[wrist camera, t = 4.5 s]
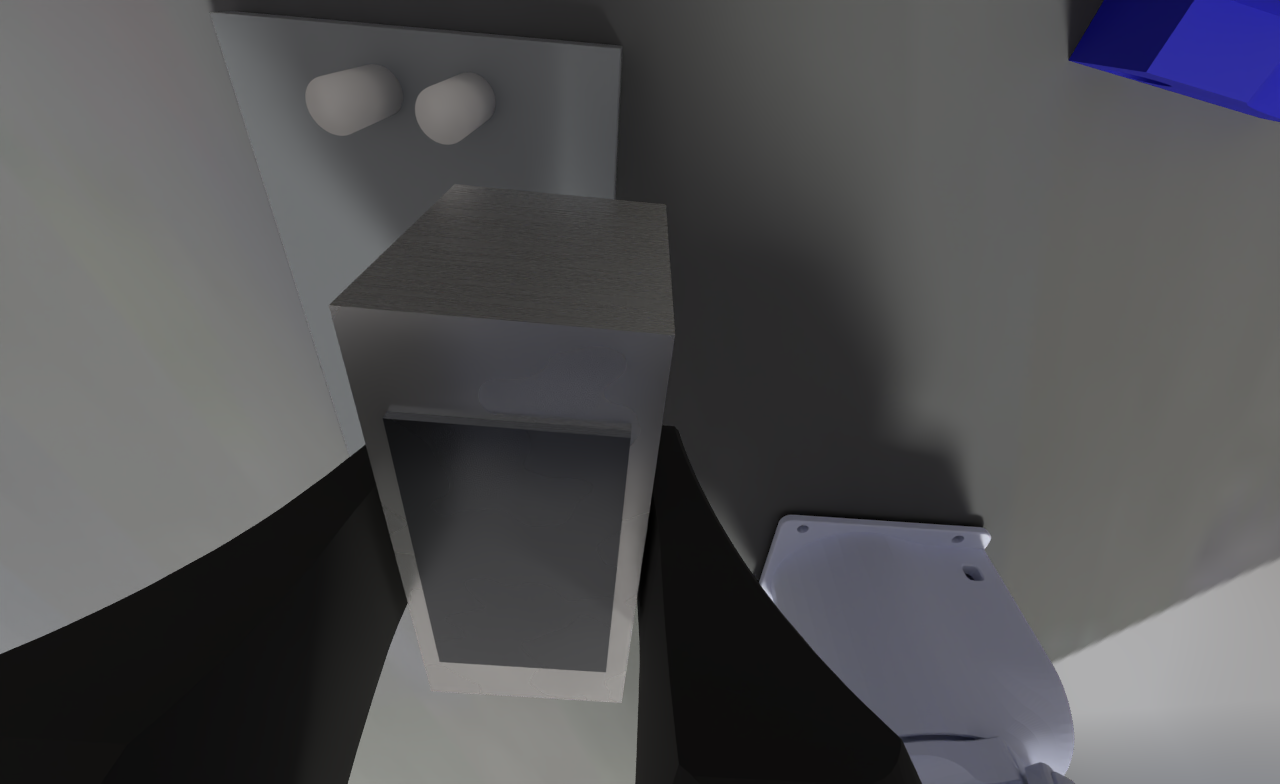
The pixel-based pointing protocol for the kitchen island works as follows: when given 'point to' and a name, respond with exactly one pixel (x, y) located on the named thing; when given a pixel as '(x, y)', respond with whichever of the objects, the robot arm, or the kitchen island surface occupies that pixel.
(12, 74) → the kitchen island surface
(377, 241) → the pin tray
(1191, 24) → the cable clip
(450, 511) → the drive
